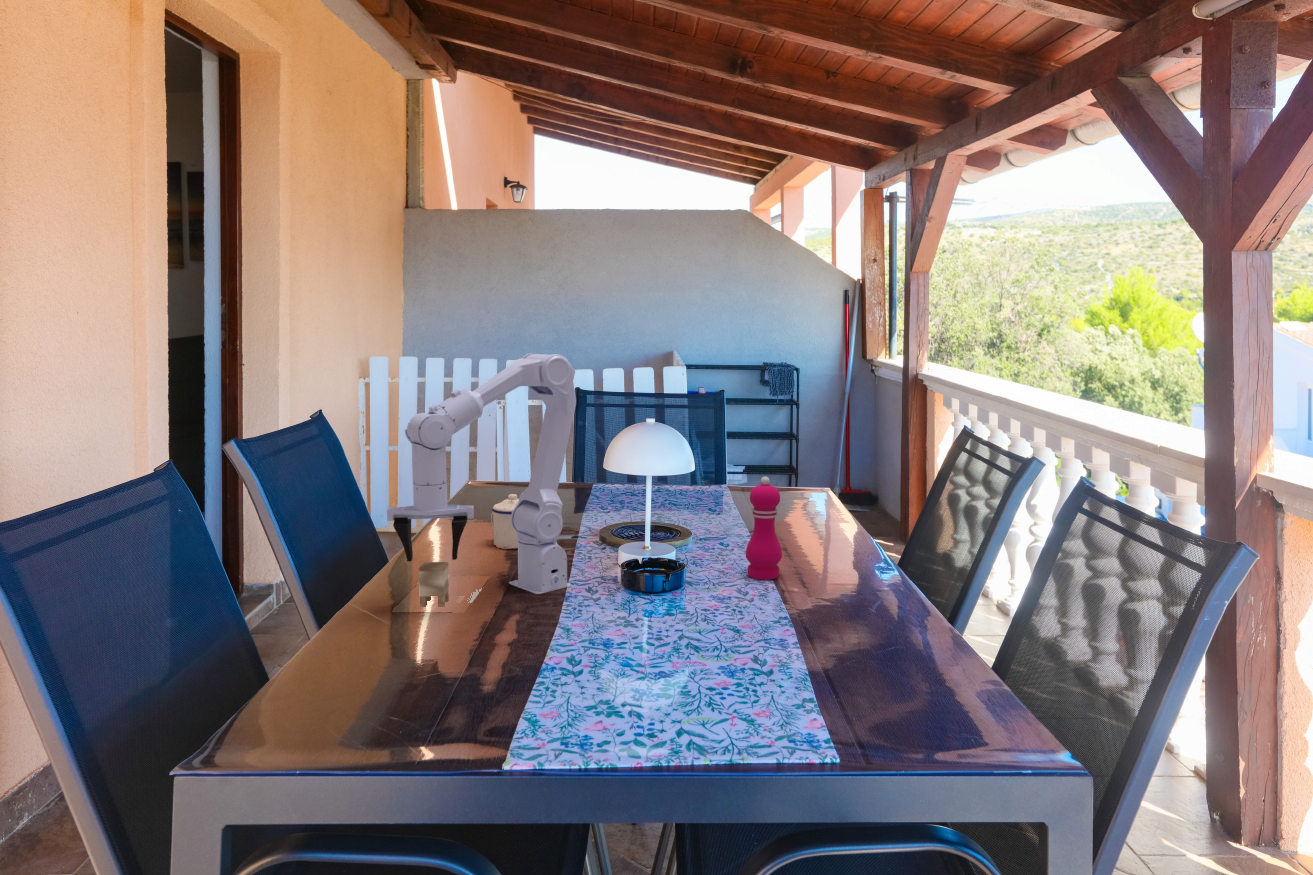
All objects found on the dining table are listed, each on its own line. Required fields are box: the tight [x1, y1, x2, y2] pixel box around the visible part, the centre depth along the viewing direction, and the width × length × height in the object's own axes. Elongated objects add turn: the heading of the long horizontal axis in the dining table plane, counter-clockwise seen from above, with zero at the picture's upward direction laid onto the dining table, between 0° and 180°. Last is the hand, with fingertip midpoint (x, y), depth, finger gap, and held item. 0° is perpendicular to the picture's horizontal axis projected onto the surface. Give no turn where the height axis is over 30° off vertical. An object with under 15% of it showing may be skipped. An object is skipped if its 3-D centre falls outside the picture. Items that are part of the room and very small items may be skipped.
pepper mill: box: [745, 476, 783, 581], centre depth 175 cm, size 7×7×20 cm
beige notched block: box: [418, 561, 450, 607], centre depth 156 cm, size 4×4×7 cm
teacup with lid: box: [490, 493, 519, 548], centre depth 199 cm, size 12×9×12 cm
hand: (432, 559), depth 155 cm, fingers open, 7 cm apart
